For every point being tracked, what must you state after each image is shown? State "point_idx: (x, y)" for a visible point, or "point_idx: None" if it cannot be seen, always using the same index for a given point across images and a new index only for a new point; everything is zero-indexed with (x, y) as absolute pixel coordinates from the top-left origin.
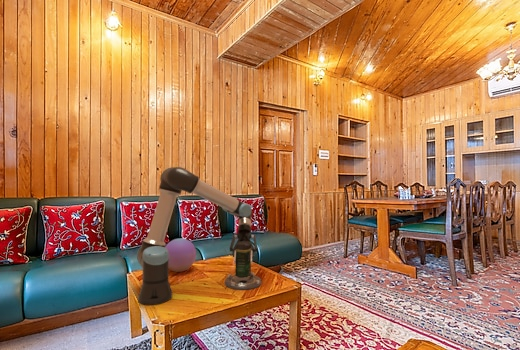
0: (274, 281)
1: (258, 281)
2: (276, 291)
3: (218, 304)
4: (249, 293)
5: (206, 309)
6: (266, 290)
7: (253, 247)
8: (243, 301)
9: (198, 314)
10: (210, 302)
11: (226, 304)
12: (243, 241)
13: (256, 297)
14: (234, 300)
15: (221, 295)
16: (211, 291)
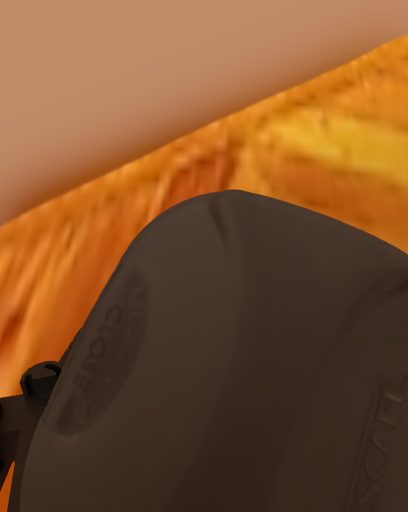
0: (12, 369)
1: None
2: (50, 213)
3: (340, 104)
4: None
5: (383, 68)
6: (99, 231)
7: (20, 432)
8: (230, 121)
9: (405, 37)
10: (380, 123)
11: (305, 101)
12: (254, 430)
13: (166, 155)
14: (271, 134)
15: (339, 190)
16: (403, 245)
